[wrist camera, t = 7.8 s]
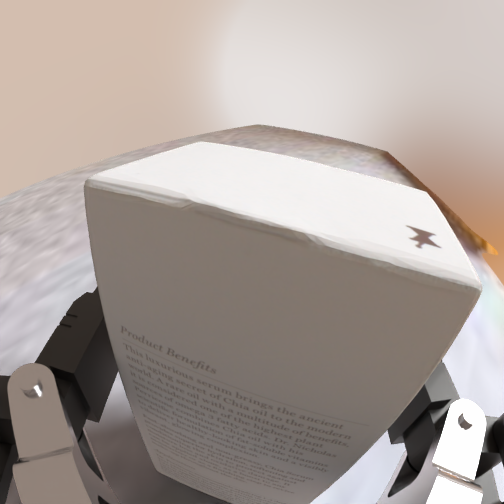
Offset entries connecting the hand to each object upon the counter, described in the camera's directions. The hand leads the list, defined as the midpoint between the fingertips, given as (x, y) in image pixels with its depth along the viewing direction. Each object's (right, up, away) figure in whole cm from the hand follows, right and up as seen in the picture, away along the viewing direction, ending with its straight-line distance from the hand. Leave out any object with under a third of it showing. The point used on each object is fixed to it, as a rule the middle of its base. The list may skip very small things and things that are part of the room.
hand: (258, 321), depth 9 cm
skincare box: (-1, -7, +2) cm, 7 cm away
